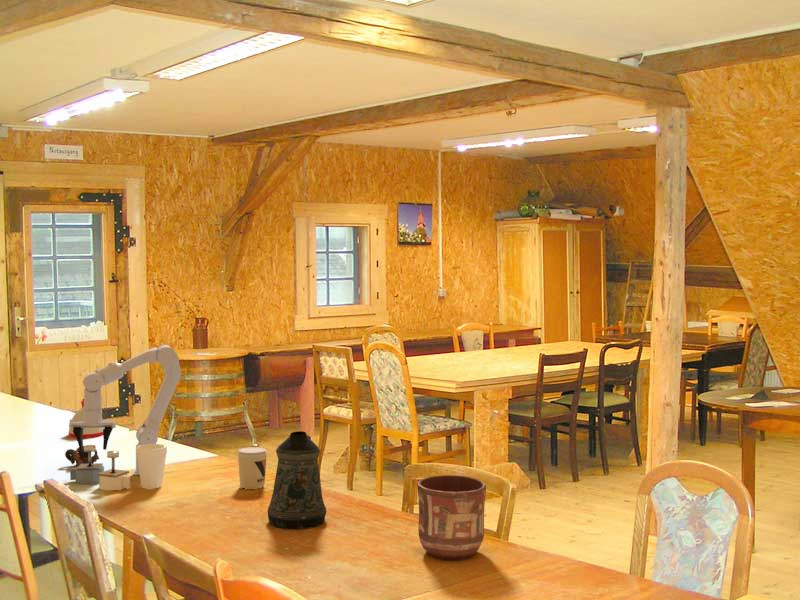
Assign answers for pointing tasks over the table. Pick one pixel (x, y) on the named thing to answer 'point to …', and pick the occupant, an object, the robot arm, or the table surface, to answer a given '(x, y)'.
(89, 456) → the metal bulb with stem
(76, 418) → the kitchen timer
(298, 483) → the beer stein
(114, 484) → the cream boxy piece
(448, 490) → the pottery
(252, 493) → the table surface
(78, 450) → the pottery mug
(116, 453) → the cream pot plunger
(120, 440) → the table surface
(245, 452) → the coffee cup
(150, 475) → the foam cup
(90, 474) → the gray faceted block
